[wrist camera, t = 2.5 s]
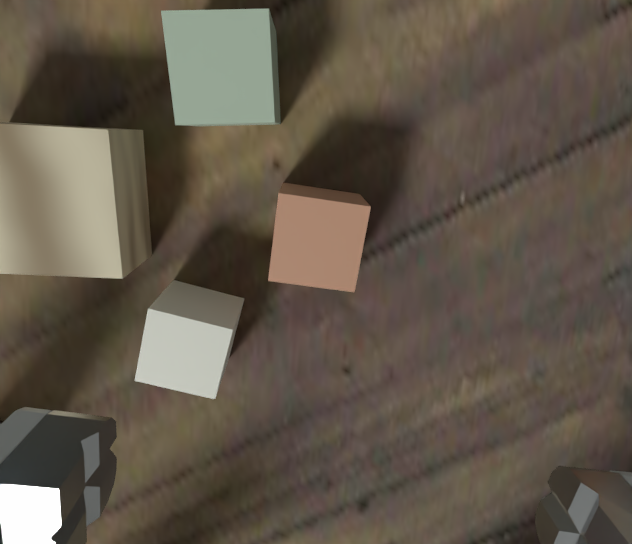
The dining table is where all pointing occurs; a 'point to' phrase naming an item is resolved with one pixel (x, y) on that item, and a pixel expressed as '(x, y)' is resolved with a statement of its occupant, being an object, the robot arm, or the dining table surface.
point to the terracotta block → (318, 237)
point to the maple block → (72, 201)
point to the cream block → (188, 339)
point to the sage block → (222, 67)
